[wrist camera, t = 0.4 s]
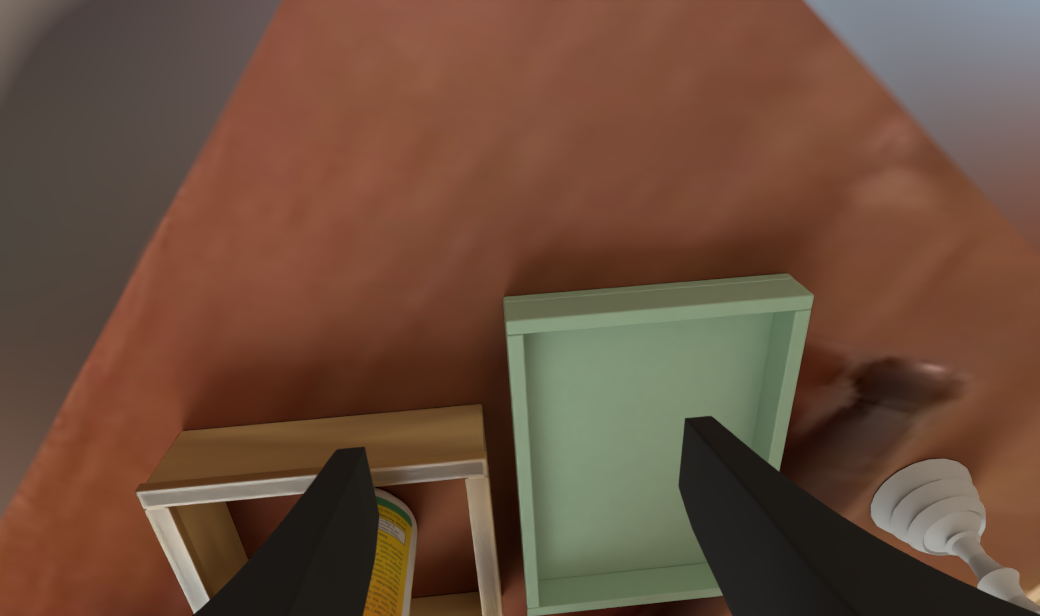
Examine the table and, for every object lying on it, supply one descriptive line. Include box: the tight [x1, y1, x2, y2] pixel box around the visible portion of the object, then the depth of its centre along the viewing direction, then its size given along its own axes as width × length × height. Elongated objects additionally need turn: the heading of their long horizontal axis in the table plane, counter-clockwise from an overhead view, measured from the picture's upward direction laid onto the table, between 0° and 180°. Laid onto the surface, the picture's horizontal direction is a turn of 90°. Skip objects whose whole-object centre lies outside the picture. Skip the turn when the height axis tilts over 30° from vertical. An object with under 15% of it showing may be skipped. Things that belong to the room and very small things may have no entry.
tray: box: [503, 273, 814, 616], centre depth 25 cm, size 16×11×2 cm
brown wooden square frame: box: [135, 404, 503, 616], centre depth 26 cm, size 13×13×4 cm
